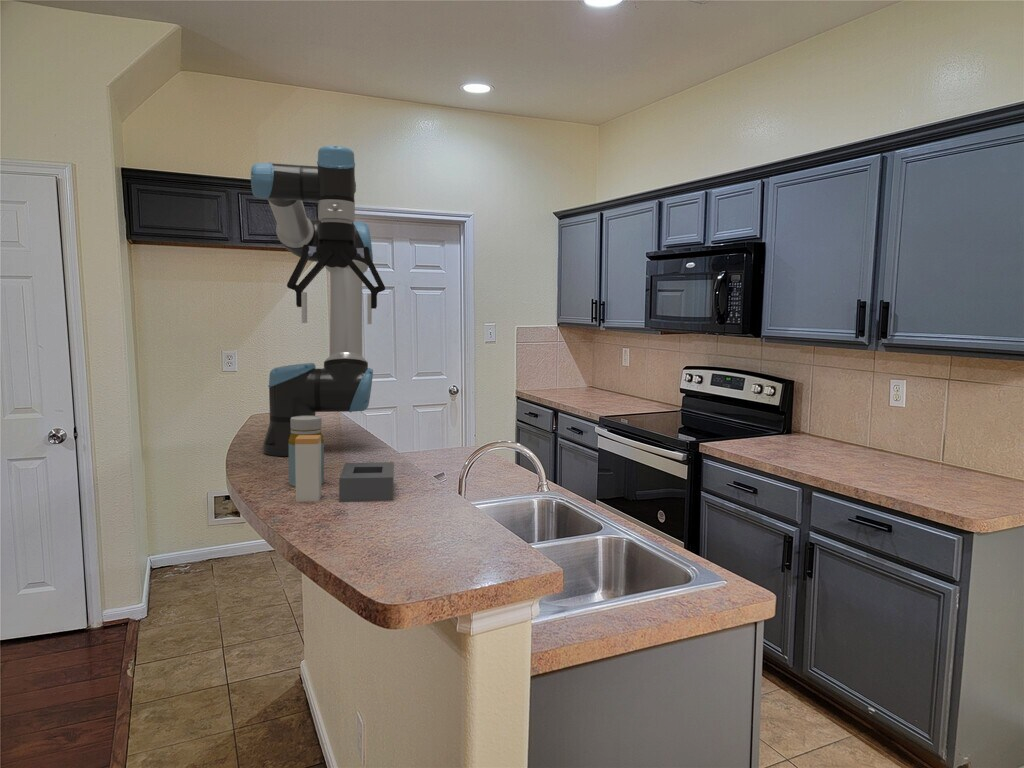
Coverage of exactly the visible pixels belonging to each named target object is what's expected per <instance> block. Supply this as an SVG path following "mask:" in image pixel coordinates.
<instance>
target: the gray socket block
mask: <svg viewBox="0 0 1024 768" xmlns="http://www.w3.org/2000/svg"><path fill="white" fill-rule="evenodd" d="M394 464H395V463H394V462H393V461H390V462H389V461H386V462H384V461H383V462H382V461H381V462H380V461H379V462H377V461H376V462H345V463H344V465H343V469H342V471H341V473H340V475H339V478H338V479H339V480H338V481H339V482H338V488H339V489H338V490H339V491H338V493H339V496H338V497H339V501H338V503H350V502H351V503H352V502H354V503H355V502H356V503H357V502H388V501H389V502H390V501H392V502H393V501H394V488H395V487H394V486H395V485H394V484H395V480H394V479H395V478H394V477H395V475H394V474H395V468H394V467H395V465H394Z"/></svg>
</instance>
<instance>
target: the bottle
mask: <svg viewBox="0 0 1024 768" xmlns="http://www.w3.org/2000/svg"><path fill="white" fill-rule="evenodd" d="M322 424H323V423H322V417H321V416H318V415H315V416H295V417H291V419H290V425H291V435H290V438H289V456H288V485H289V487H292V488H295V489H296V475H295V439H296V437H297V436H298V435H321V486H323V485H324V484H325V449H324V448H325V447H324V446H325V442H324V440H325V439H324V437H323V434H322Z"/></svg>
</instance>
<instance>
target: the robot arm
mask: <svg viewBox="0 0 1024 768" xmlns="http://www.w3.org/2000/svg"><path fill="white" fill-rule="evenodd" d="M355 166H356V163H355V154H354V151H353V150H352V149H351V148H348V147H346V146H342V145H341V146H340V145H324V146H321V147H320V148H319V149H318V151H317V161H316V165H315V166H314V165H298V164H288V163H287V164H285V163H274V162H273V163H272V162H257V163H254V164H253V165H252V166H251V169H250V186H251V192H252V195H253V196H254V197H255V198H258V199H263V200H267V201H268V204H269V207H270V209H271V212H272V214H273V217H274V219H275V223H276V227H275V232H276V236H277V238H278V240H279V242H280V243H281V245H282V246H283V247H284V248H285V249H286V250H287V251H288V252H290V253H291V254H293V255H295V256H297V257H298V258H299V259H298V262H297V264H296V266H295V268H294V269H293V272H292V274H291V275H290V277H289V279H288V282H287V284H286V288H288V289H291V290H293V291H295V293H296V294H295V299H296V301H295V302H296V303H295V305H296V307H297V308H301V324H307V323H308V292H306V291H304V290H305V289H306V288H307V287H308V285H309V284H310V283H312V281H313V280H315V277H316V276H318V274H319V273H320V272H321V271H322V270H323V269H324V268H325V269H326V271H328V273H330V291H329V292H330V297H329V298H330V303H329V308H330V312H329V313H330V314H329V321H330V322H329V356H328V357H327V358H326V359H325V360H324V361H323V368H316V367H317V366H316V364H315V363H314V362H313V363H312V362H310V363H309V362H308V363H298V364H290V365H289V364H288V365H283V366H278V367H274V368H272V369H271V370H270V372H269V374H268V375H269V379H268V387H267V388H268V390H269V391H268V393H269V403H268V404H269V424H268V428H267V431H266V434H265V437H264V440H263V443H262V453H263V454H265V455H267V456H268V455H269V456H276V457H289V438H290V435H291V425H290V419H291V417H295V416H316V413H332V412H333V413H342V412H343V413H344V412H345V413H346V412H349V413H353V412H363V411H366V410H367V409H368V408H369V404H370V399H371V393H372V386H373V385H372V384H373V377H374V370H373V369H372V368H370V367H369V366H368V365H369V362H368V361H367V360H366V359H365V358H364V357H363V284H364V285H365V287H366V288H367V289H368V290H369V292H370V293H367V298H366V299H367V300H366V301H367V306H366V307H367V308H366V310H367V321H366V322H367V325H372V324H373V323H372V322H373V321H372V318H373V317H372V312H373V309H377V307H378V293H381V292H384V291H385V290H386V287H385V285H384V282H383V280H382V278H381V275H380V274H379V273H378V270H377V268H376V266H375V264H374V257H373V255H374V254H373V249H372V248H373V246H372V238H371V232H370V228H369V225H368V224H367V223H366V222H364V221H355V220H356V219H355V218H356V214H355V213H356V211H355V210H356V202H355V193H356V191H357V188H356V187H357V183H356V182H357V181H356V176H355V175H356V173H355V170H356V169H355V168H356V167H355ZM303 201H306V202H307V201H308V202H317V214H318V215H317V218H316V219H315V218H308V217H307V214H306V213H307V212H306V209H305V206H304V203H303ZM308 261H310V262H316V264H315V265H314V266H313V268H312V269H310V270H309V272H308V273H307V274H306V275H305V276H304V278H303V279H302V280H301V281H300V282H299V284H297V282H298V280H299V279H300V277H301V275H302V273H303V271H304V269H305V267H306V266H307V263H308ZM368 269H369V271H370V273H371V275H372V276H373V278H374V281H375V282H376V285H377V286H375V285H374V284H372V283H371V281H370V280H369V279H368V278H367V276H366V275H365V273H366V272H367V271H368Z"/></svg>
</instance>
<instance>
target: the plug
mask: <svg viewBox="0 0 1024 768" xmlns="http://www.w3.org/2000/svg"><path fill="white" fill-rule="evenodd" d="M295 475H296V488H295V503H304V502H305V503H306V502H307V503H308V502H320V500H321V498H322V485H321V435H298V436H297V437H296V439H295Z"/></svg>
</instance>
